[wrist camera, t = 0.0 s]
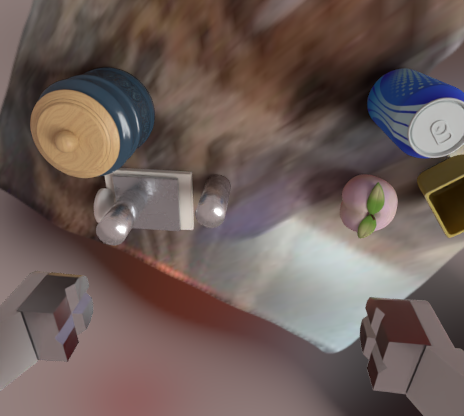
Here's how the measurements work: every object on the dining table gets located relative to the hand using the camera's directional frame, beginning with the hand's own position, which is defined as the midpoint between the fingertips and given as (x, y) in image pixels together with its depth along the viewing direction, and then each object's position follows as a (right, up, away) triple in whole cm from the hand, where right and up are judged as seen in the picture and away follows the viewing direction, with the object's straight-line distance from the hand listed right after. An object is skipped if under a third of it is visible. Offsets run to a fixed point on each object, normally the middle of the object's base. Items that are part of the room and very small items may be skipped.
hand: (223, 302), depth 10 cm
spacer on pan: (-17, +4, +52) cm, 54 cm away
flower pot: (+34, +8, +48) cm, 59 cm away
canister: (-18, +19, +47) cm, 54 cm away
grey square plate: (-14, +4, +53) cm, 55 cm away
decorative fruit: (+22, +6, +50) cm, 55 cm away
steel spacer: (-2, +6, +52) cm, 52 cm away
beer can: (+24, +19, +42) cm, 52 cm away
